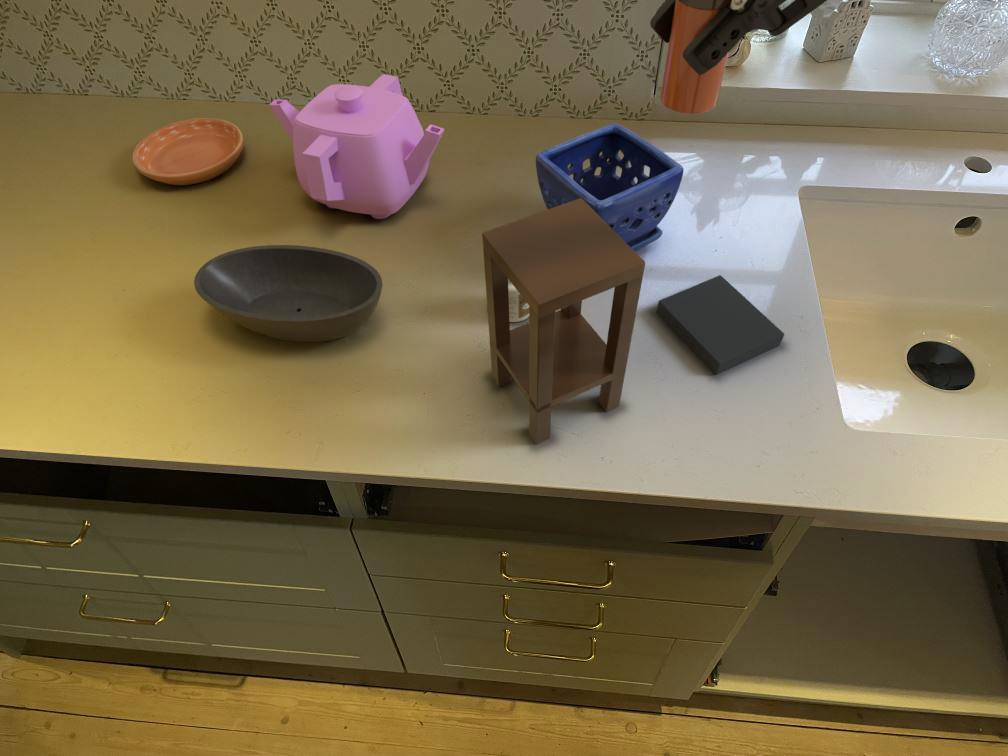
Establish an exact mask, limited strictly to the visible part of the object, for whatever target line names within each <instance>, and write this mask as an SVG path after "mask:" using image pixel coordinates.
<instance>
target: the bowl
mask: <svg viewBox="0 0 1008 756" xmlns="http://www.w3.org/2000/svg"><path fill="white" fill-rule="evenodd" d="M193 280H194V281H193V286H194V289H195V291H196V293H197V294H198V295H199V296H200V298H201V299H203V300H204V301H205V302H206V303H207V304H208V305H209V306H210V307H211V308H213V309H214V310H215V311H217V313H220V314H221V316H223V317H225V318H227V319H228V320H229V321H232V322H234V323H236V324H237V325H239V326H241V327H243V328H246V329H248V330H250V331H252V332H255V333H258V334H261V335H263V336H267V337H270V338H272V339H276V340H282V341H285V342H294V343H322V342H330V341H335V340H339V339H342V338H345V337H348V336H350V335H351V334H353V333H354V332H356V331H357V330H359V329H360V328H361V327H362V326H364V325H365V324H366V323H367V322H368V320H369V319H370V318H371V316H372V315H373V313H374V312H375V310H376V308H377V307H378V304H379V301H380V298H381V294H382V290H383V279H382V276H381V274H380V273H379V271H378V270H377V269H376V268H375V267H374V266H372V265H371V264H369V263H368V262H367V261H365V260H362V259H361V258H359V257H356V256H353V255H352V254H347V253H344V252H340V251H337V250H333V249H327V248H321V247H315V246H308V245H296V244H295V245H294V244H267V245H257V246H248V247H242V248H238V249H234V250H230V251H227V252H224V253H221V254H219V255H217V256H215V257H213V258H210V259H209V260H207V262H205V263H204V264H203V265H202V266H201V267H200V268H199V269H198V270H197V272H196V274H195V276H194V279H193Z"/></svg>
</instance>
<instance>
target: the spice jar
mask: <svg viewBox="0 0 1008 756" xmlns="http://www.w3.org/2000/svg"><path fill="white" fill-rule="evenodd" d="M731 1H732V0H676V2H675V8H674V14H673V21H672V27H671V33H670V40H669V43H668V46H667V53H666V58H665V59H666V60H665V66H664V72H663V79H662V84H661V89H660V90H661V91H660V97H659V98H660V101H661V103H662V104H663V106H665V108H667V109H669V110H671V111H674V112H676V113H679V114H680V113H681V114H687V115H695V114H703V113H706V112H709V111H711V110H712V109H714V108H715V107H716V106H717V104H718V101H719V96H720V92H721V89H722V88H721V87H722V84H723V80H724V75H725V70H726V66H727V62H728V58H729V53H730V51H729V52H728V53H727V55H726V56H725V57H723V58H722V60H721V61H720V62H719V63H718V64H717V65H716V66H715V67H713V68H712V69H710V70H708V71H707V72H706V73H704V74H702V75H699V74H698V73H697V72H696V71H694V70H693V69H692V67H691V66H690V65H689V64H688V63H687V62H686V61H685V59H684V58H683V51H684V50H685V48H686V47H687V46H688V45H689V44H690V43H691V42H692V41H693V39H694V38H695V37H696V36H697V35H698V34H699V33H700V32H701V31H702V30H703V29H704V27H705V26H706V25H707V24H708V23H709V22H710V21H711V20H712V19H713V18H714V17H715V15H716V14H717V13H718V12H719V11H720V10H721V9H722V8H723V7H724V6H725V7H726V8H727V9H729V10H730V9H731V7H730V3H731Z"/></svg>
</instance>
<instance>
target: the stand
mask: <svg viewBox="0 0 1008 756" xmlns="http://www.w3.org/2000/svg"><path fill="white" fill-rule="evenodd" d="M481 235H482V237H481V239H482V251H483V265H484V278H485V279H484V281H485V294H486V295H485V296H486V306H487V307H486V308H487V320H488V335H489V351H490V364H491V376H492V379H493V381H494V382H495V384H496V386H497V387H498V388H501V387H503V386H506V385H508V384H510V383H512V382H513V381H512V379H513V380H514V382H515V383H516V385H517V386H518V388H519V389H520V390H521V392H522V393H523V395H524V396H525V398H526V399H527V401H528V407H529V408H528V434H529V436H530V437H531V439H532V440H533V442H534V444H535V445H539V444H542V443H543V442H545V441H548V440H550V439H551V422H552V421H551V419H552V407H555V406H556V405H559V404H561V403H564V402H566V401H568V400H570V399H572V398H575V397H576V396H579V395H581V394H583V393H585V392H589V391H590V390H593V389H594V388H598V387H599V386H600V389H599V396H598V404H599V405H600V406H601V407H602V409H603V410H604V411H605V413H609V412H611V411H613V410H615V409H617V408H619V407H620V402H621V398H622V392H623V387H624V382H625V376H626V370H627V365H628V361H629V360H628V359H629V354H630V348H631V343H632V339H633V332H634V326H635V321H636V317H637V311H638V305H639V300H640V293H641V289H642V284H643V278H644V277H643V276H644V273H645V267H646V262H645V260H644V259H643V258H642V257H641V256H640V255H639V254H638V253H637V252H636V251H634V250H633V249H632V248H631V247H630V246H629V245H628V244H627V243H626V242H625V241H624V240H623V239H622V238H621V237H620V236H619V235H618V234H617V233H616V232H615V231H614V230H613V229H612V228H611V227H610V226H609V225H608V224H607V223H606V222H605V221H604V220H603V219H602V218H601V217H600V216H599V215H598V214H597V213H596V212H595V211H594V210H593V209H592V208H591V207H590V206H589V205H588V204H587V203H586V202H585V201H584V200H583V199H582V198H580V199H577V200H574V201H571V202H568V203H566V204H563V205H560V206H557V207H554V208H551V209H545V210H543V211H539V212H538V213H537V212H536V213H535V214H532V215H529V216H525V217H523V218H520V219H517V220H514V221H512V222H509V223H506V224H503V225H501V226H500V225H499V226H498V227H495V228H492V229H489V230H486V231H484V232H481ZM508 279H509V280H510V282H511V283H512V284H513V285H514V287H515V288H516V289H517V291H518V292H519V293H520V294H521V296H522V297H523V298H524V300H525V301H526V302H527V304H528V305H529V317H528V322H526V323H525V324H522V325H520V326H517V327H514V328H512V329H511V325H510V324H511V322H509V293H508ZM611 289H614V290H613V296H612V302H611V311H610V318H609V325H608V332H607V337H606V338H607V339H606V342H605V340H603V338H602V337H601V336H600V335H599V334H598V332H597V331H596V330H595V328H594V327H593V326H592V325H591V324H590V323H589V321H587V319H586V318H585V317H584V316H583V315H582V306H583V305H582V304H583V301H584V300H587V299H589V298H591V297H594V296H597V295H599V294H601V293H605V292H606V291H609V290H611Z"/></svg>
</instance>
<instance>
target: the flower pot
mask: <svg viewBox="0 0 1008 756" xmlns="http://www.w3.org/2000/svg"><path fill="white" fill-rule="evenodd" d="M619 152H621V153H622V155H623V157H622V158H621V157H620V156H619ZM600 154H601V155H600ZM587 160H588V161H589V166H588V167H586V168H584V162H585V161H587ZM629 163H630V164H629ZM618 167H619V168H620V169H621V174H620V176H619V175H617V168H618ZM645 167H648V168H649V174H648V175H646V173H645ZM535 168H536V176H537V182H538V186H539V190H540V194H541V197H542V200H543V202H544V204H545V207H546V210H548V209H551V208H554V207H557V206H560V205H563V204H566V203H568V202H571V201H574V200H577V199H580V198H582V199H583V200H584V201H585V202H586V203H587V204H588V205H589V206H590V207H591V208H592V209H593V210H594V211H595V212H596V213H597V214H598V215H599V216H600V217H601V218H602V219H603V220H604V221H605V222H606V223H607V224H608V225H609V226H610V227H611V228H612V229H613V230H614V231H615V232H616V233H617V234H618V235H619V236H620V237H621V238H622V239H623V240H624V241H625V242H626V243H627V244H628V245H629V246H630V247H631V248H632V249H633V250H634V251H635V252H636V251H637V250H640V249H642V248H644V247H646V246H648V245H650V244H652V243H654V242H655V241H657V240H658V239H660V237H662V235H663V230H662V229H661V228H660V227H658V225H659V224H660V223H661V222H662V221H663V219H664V218H665V217H666V215H667V213H668V212H669V210H670V208H671V206H672V205H673V203H674V201H675V200H676V196H677V194H678V192H679V189H680V187H681V183H682V181H683V176H684V167H683V166H682V164H680V163H679V162H677V160H675V159H673V158H672V157H670V156H669V155H668V154H666V153H665V152H664V151H663V150H661V149H659V148H658V147H657V146H655V145H653V144H652V143H651V142H649V141H648V140H646V139H644V138H643V137H641V136H639V135H638V134H637V133H635V132H633V131H632V130H630V129H629V128H627V127H625V126H623V125H621V124H619V123H615V122H614V123H610V124H608V125H604V126H602V127H598V128H597V129H593V130H591V131H588V132H586V133H582V134H580V135H578V136H576V137H573V138H571V139H569V140H566V141H564V142H561V143H558V144H556V145H554V146H551V147H548V148H546V149H544V150H542V151H540V152H539V153H537V154H536V156H535ZM598 168H600V173H599V174H595V173H596V171H597V169H598ZM571 175H572V177H570V176H571ZM635 178H636V180H637V181H635Z"/></svg>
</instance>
